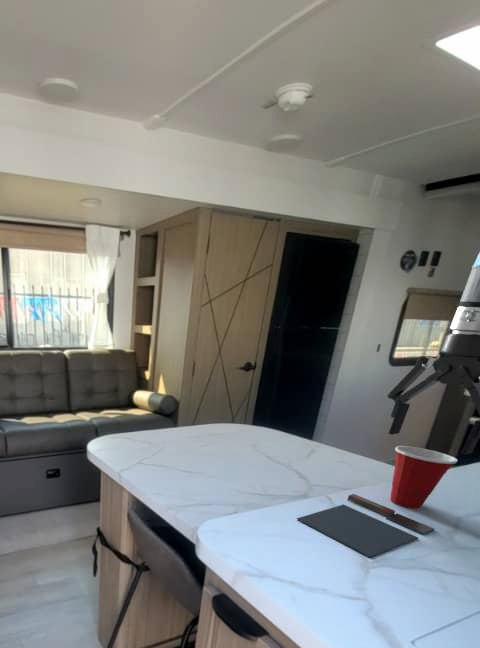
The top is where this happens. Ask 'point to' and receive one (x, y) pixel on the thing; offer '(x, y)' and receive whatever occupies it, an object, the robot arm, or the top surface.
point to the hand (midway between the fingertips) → (427, 442)
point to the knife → (391, 515)
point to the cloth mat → (357, 530)
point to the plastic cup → (417, 474)
